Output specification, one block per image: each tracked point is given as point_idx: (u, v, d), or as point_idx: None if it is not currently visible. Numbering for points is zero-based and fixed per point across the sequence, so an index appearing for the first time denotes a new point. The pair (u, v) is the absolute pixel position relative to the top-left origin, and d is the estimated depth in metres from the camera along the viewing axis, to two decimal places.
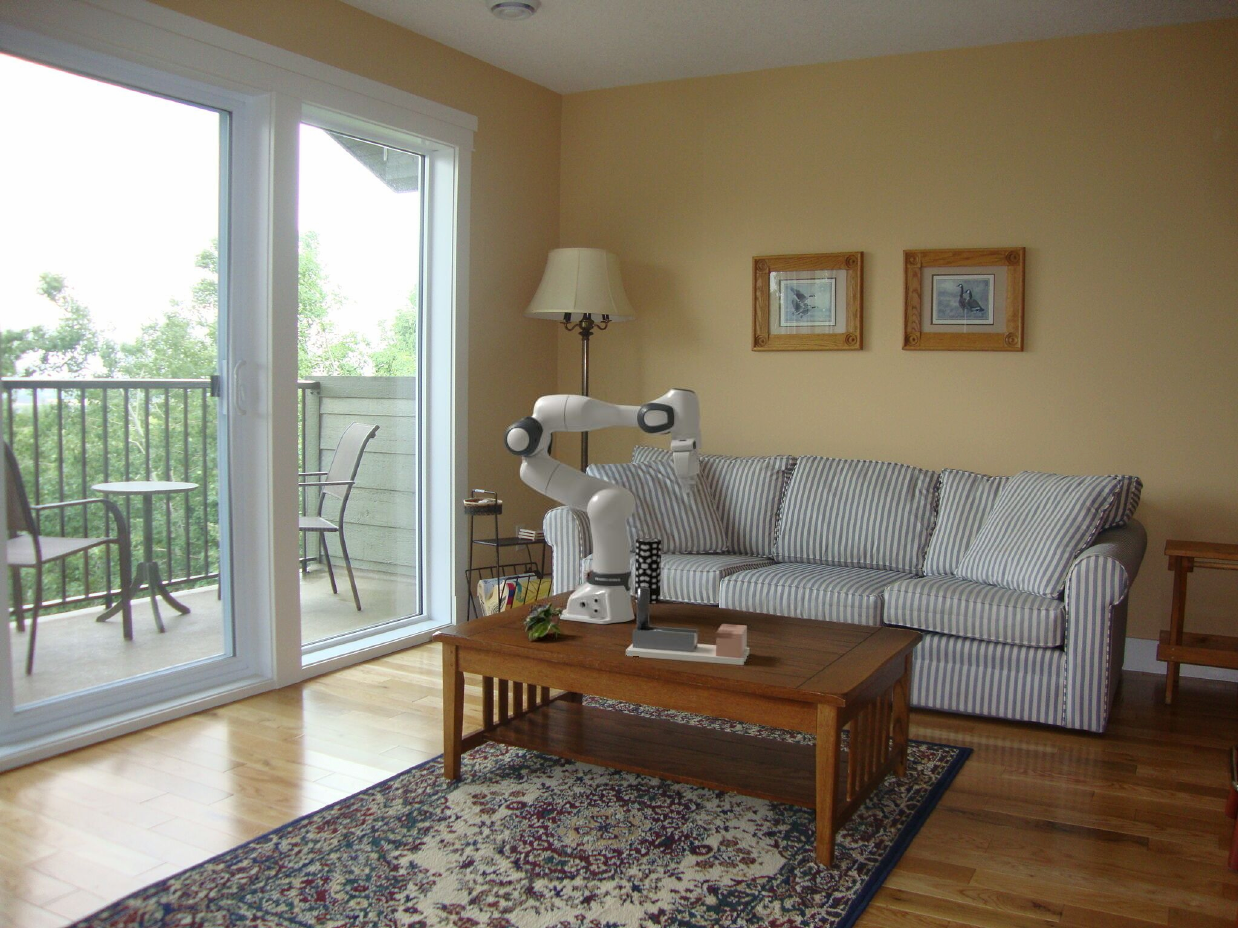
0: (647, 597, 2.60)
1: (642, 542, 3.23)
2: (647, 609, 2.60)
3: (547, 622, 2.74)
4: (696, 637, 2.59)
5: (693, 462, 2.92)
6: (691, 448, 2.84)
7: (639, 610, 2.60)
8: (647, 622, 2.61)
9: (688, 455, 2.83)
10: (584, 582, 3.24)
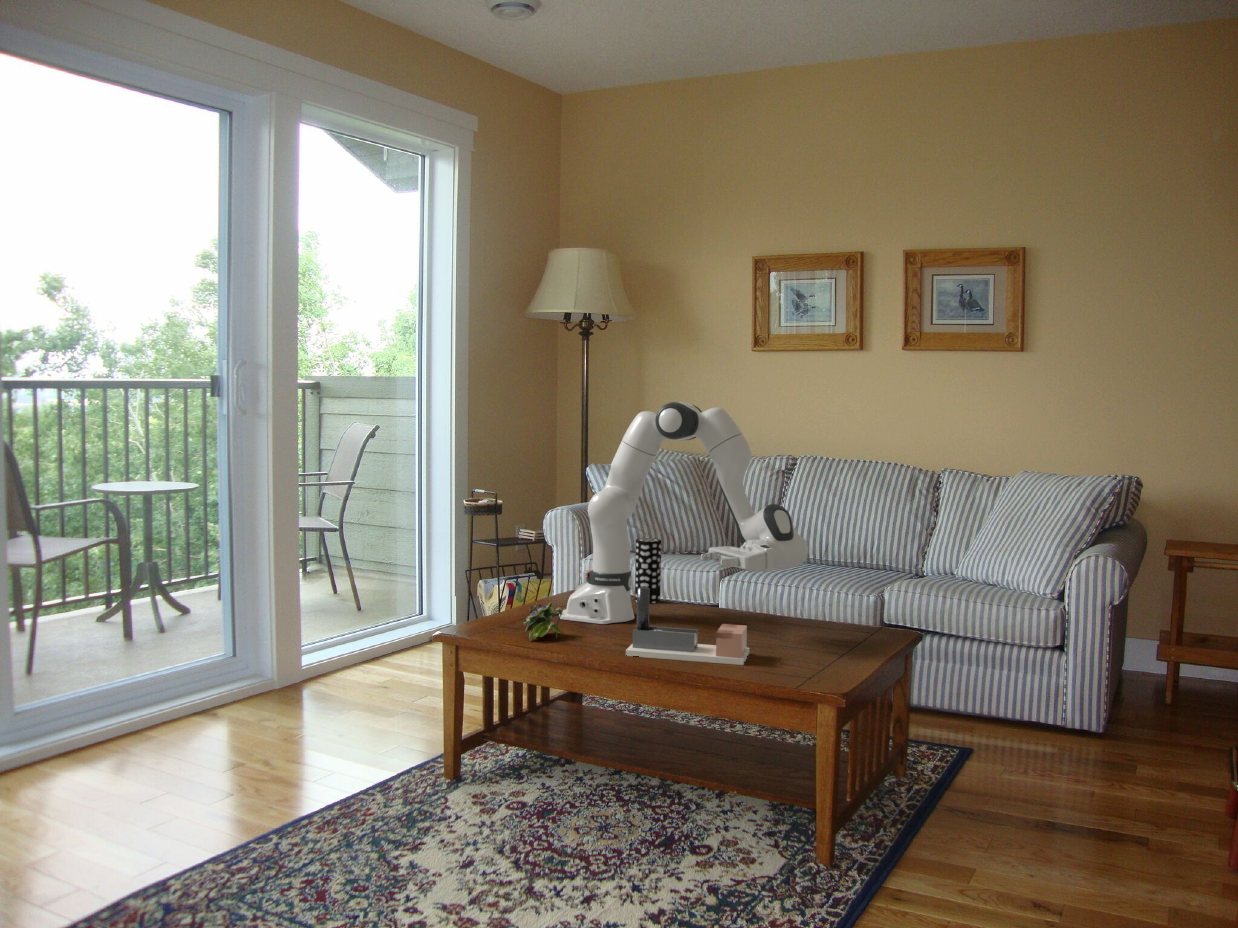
0: (647, 597, 2.60)
1: (642, 542, 3.23)
2: (647, 609, 2.60)
3: (547, 622, 2.74)
4: (696, 637, 2.59)
5: None
6: (768, 570, 2.68)
7: (639, 610, 2.60)
8: (647, 622, 2.61)
9: (764, 568, 2.67)
10: (584, 582, 3.24)
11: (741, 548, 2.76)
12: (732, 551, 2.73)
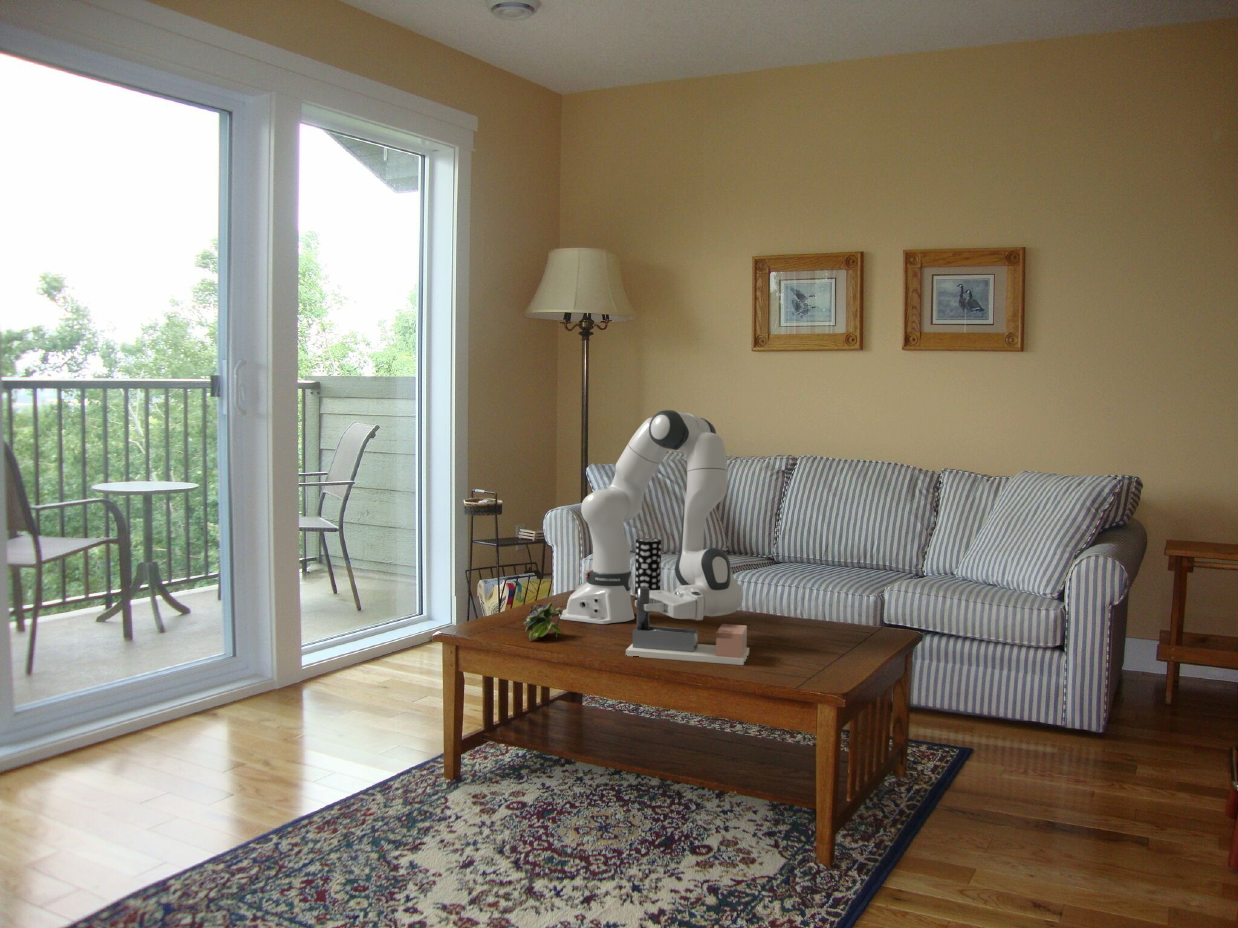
0: (647, 597, 2.60)
1: (642, 542, 3.23)
2: None
3: (547, 622, 2.74)
4: (696, 637, 2.59)
5: None
6: (698, 619, 2.59)
7: (639, 610, 2.60)
8: (647, 622, 2.61)
9: (693, 617, 2.58)
10: (584, 582, 3.24)
11: (673, 593, 2.67)
12: (662, 597, 2.63)
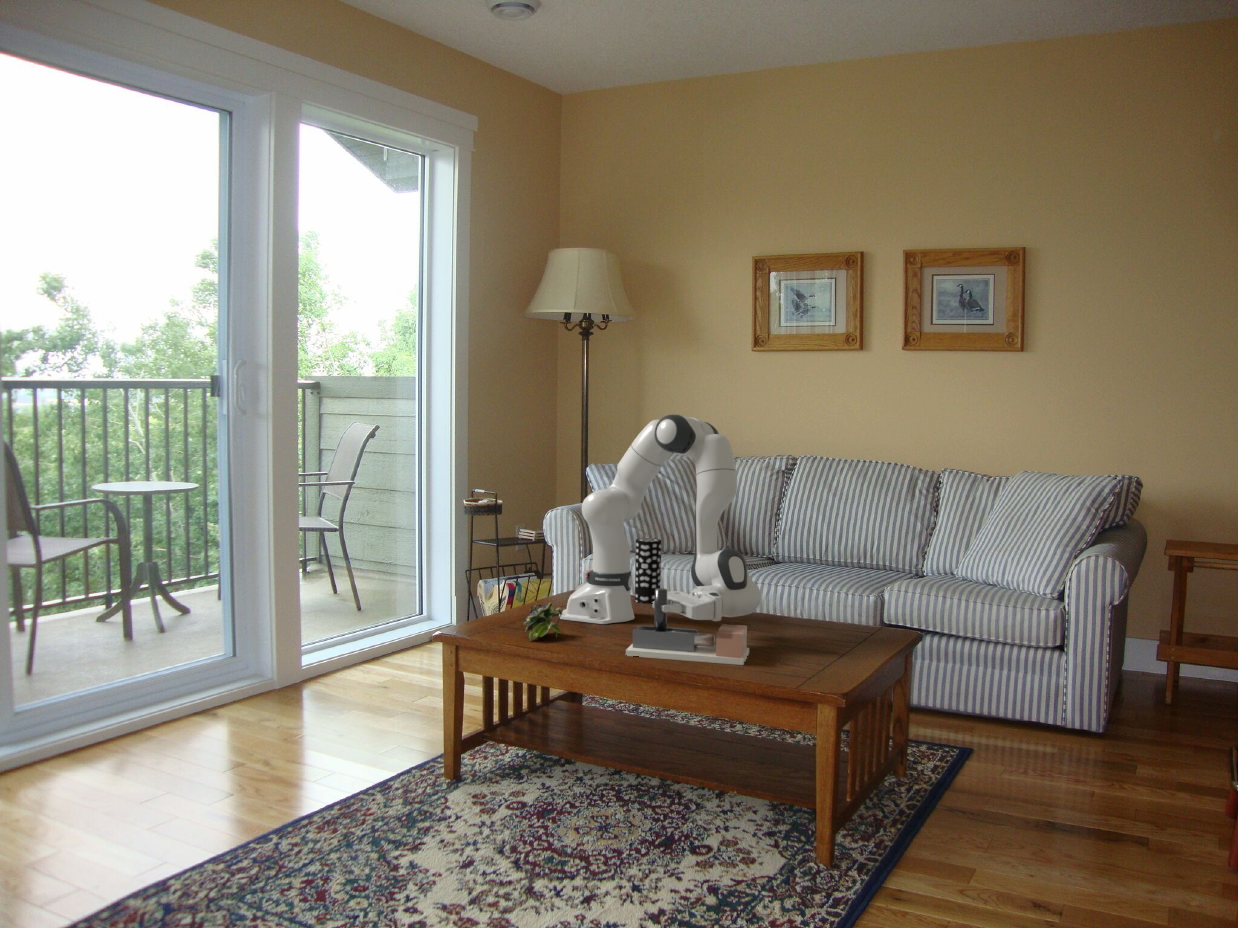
0: (665, 598, 2.59)
1: (642, 542, 3.23)
2: None
3: (547, 622, 2.74)
4: (714, 638, 2.58)
5: None
6: (716, 620, 2.58)
7: (657, 612, 2.59)
8: (665, 623, 2.60)
9: (712, 618, 2.56)
10: (584, 582, 3.24)
11: (690, 594, 2.66)
12: (680, 598, 2.62)
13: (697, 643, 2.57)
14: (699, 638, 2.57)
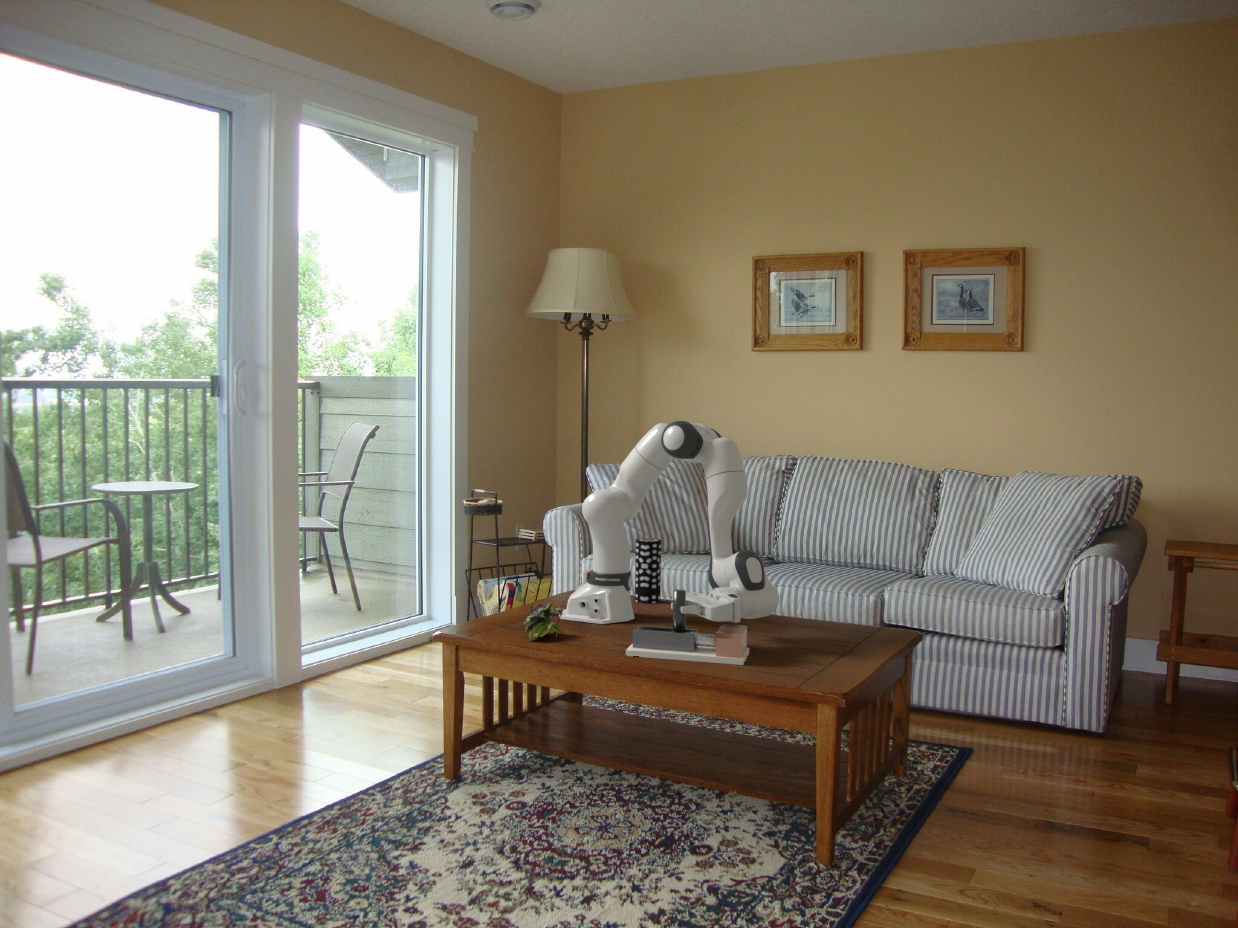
0: (683, 599, 2.58)
1: (642, 542, 3.23)
2: None
3: (547, 622, 2.74)
4: None
5: None
6: (735, 621, 2.57)
7: (676, 613, 2.58)
8: (683, 625, 2.58)
9: (731, 619, 2.55)
10: (584, 582, 3.24)
11: (709, 596, 2.64)
12: (699, 599, 2.61)
13: None
14: None
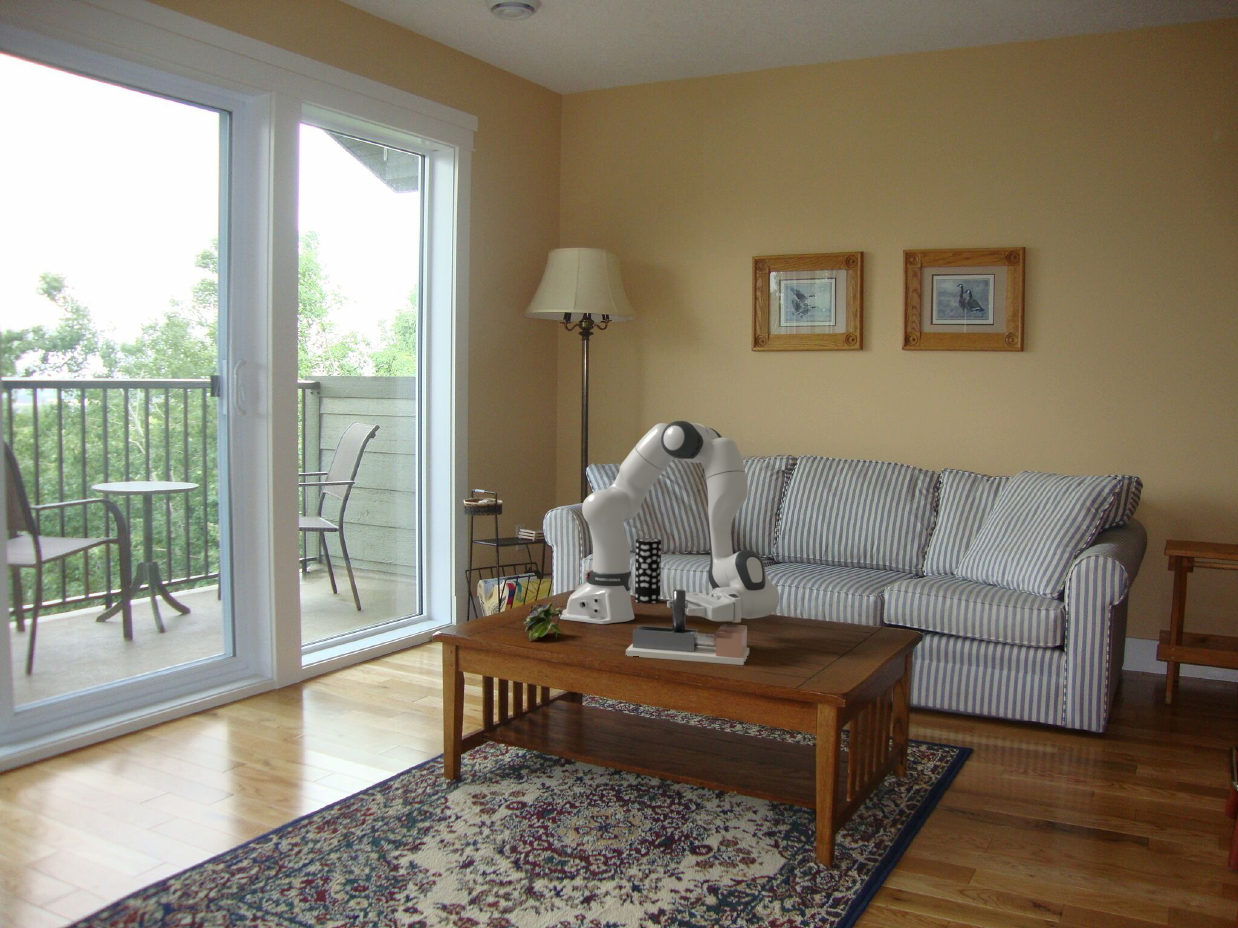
0: (683, 599, 2.58)
1: (642, 542, 3.23)
2: (683, 611, 2.58)
3: (547, 622, 2.74)
4: None
5: None
6: (736, 621, 2.57)
7: (675, 613, 2.58)
8: (683, 625, 2.58)
9: (731, 619, 2.55)
10: (584, 582, 3.24)
11: (709, 596, 2.64)
12: (699, 599, 2.61)
13: None
14: None
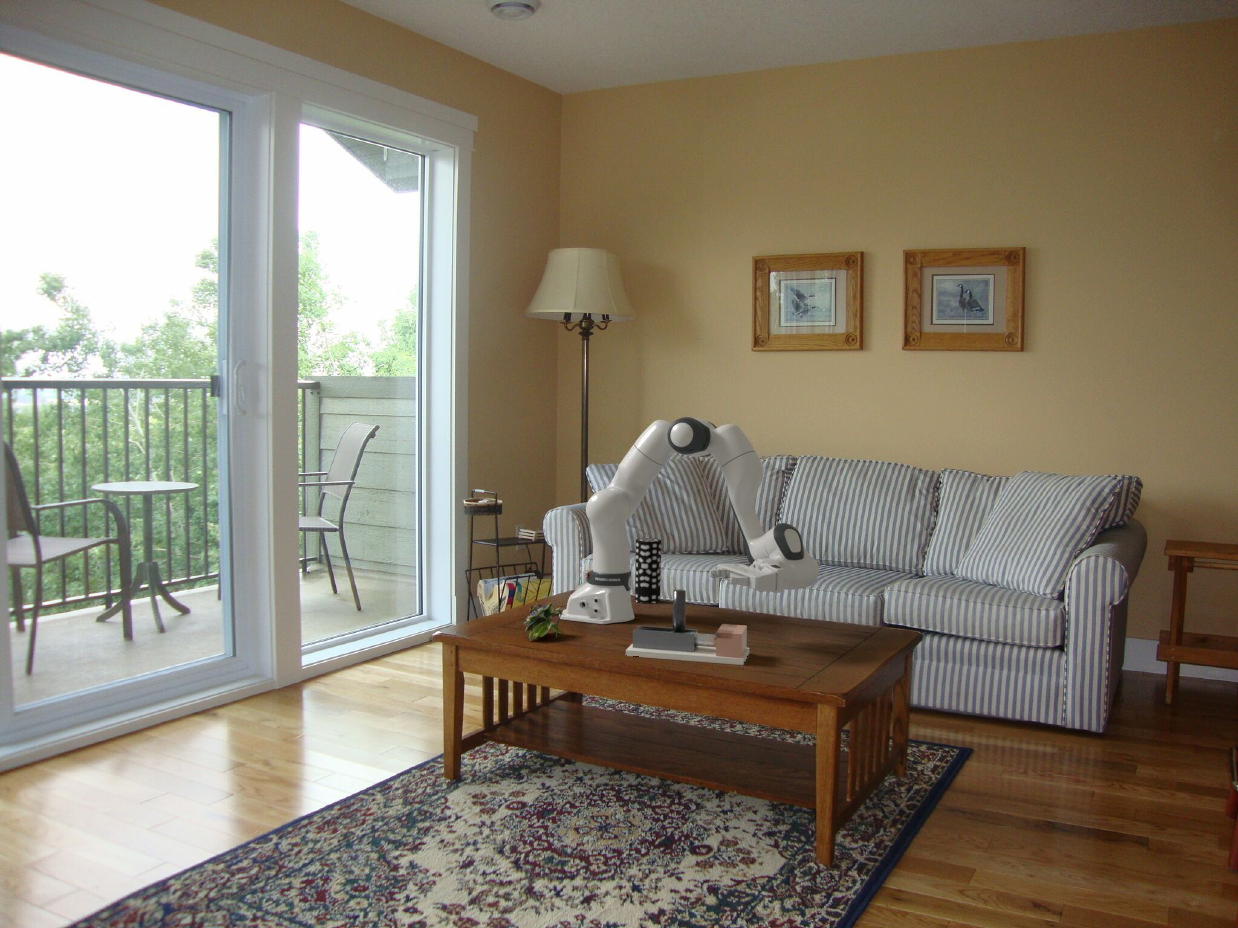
0: (683, 599, 2.58)
1: (642, 542, 3.23)
2: (683, 611, 2.58)
3: (547, 622, 2.74)
4: None
5: None
6: (778, 591, 2.62)
7: (675, 613, 2.58)
8: (683, 625, 2.58)
9: (774, 589, 2.60)
10: (584, 582, 3.24)
11: (751, 566, 2.70)
12: (742, 569, 2.66)
13: None
14: None
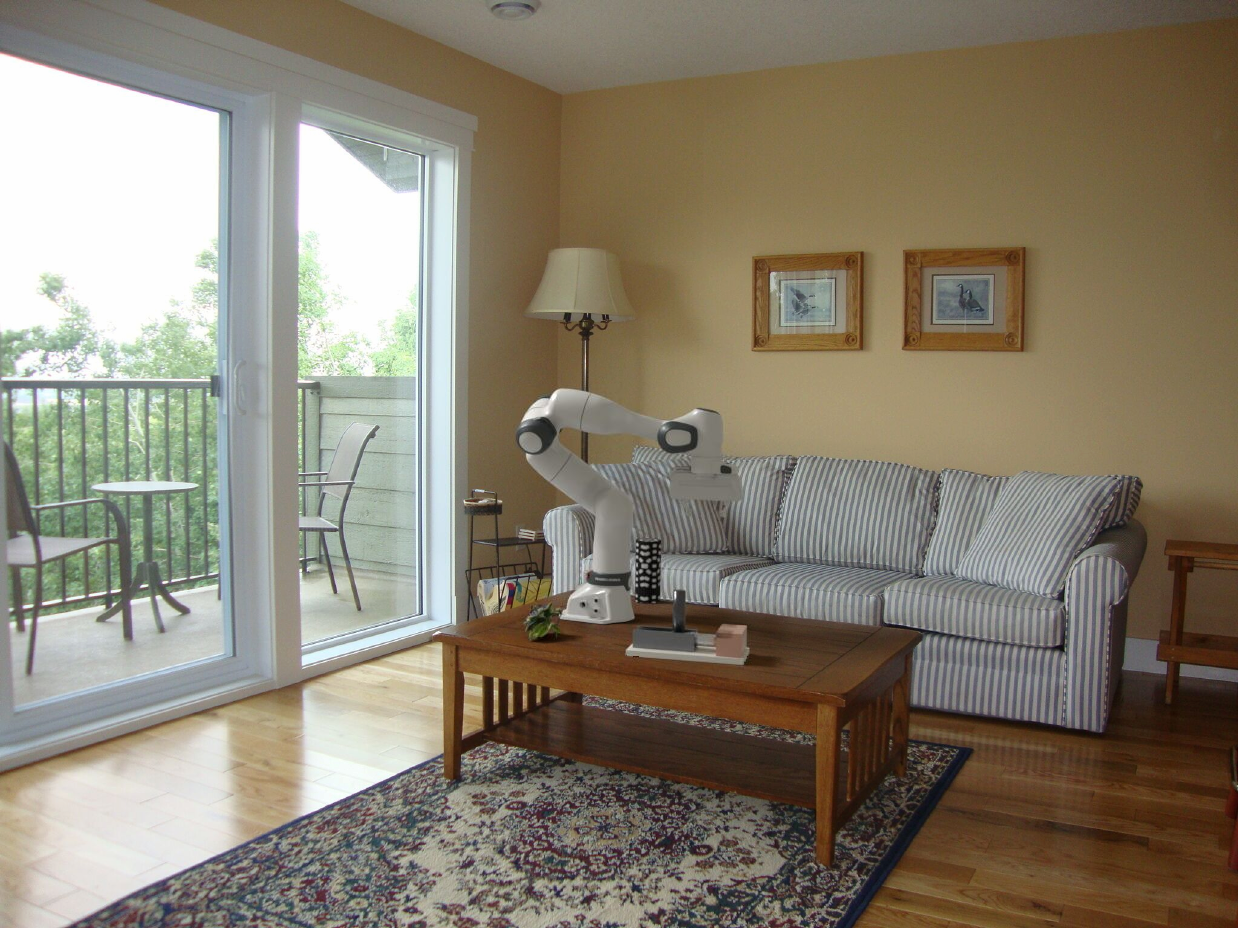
0: (683, 599, 2.58)
1: (642, 542, 3.23)
2: (683, 611, 2.58)
3: (547, 622, 2.74)
4: None
5: None
6: None
7: (675, 613, 2.58)
8: (683, 625, 2.58)
9: (740, 478, 2.79)
10: (584, 582, 3.24)
11: (700, 479, 2.78)
12: (706, 493, 2.78)
13: None
14: None
